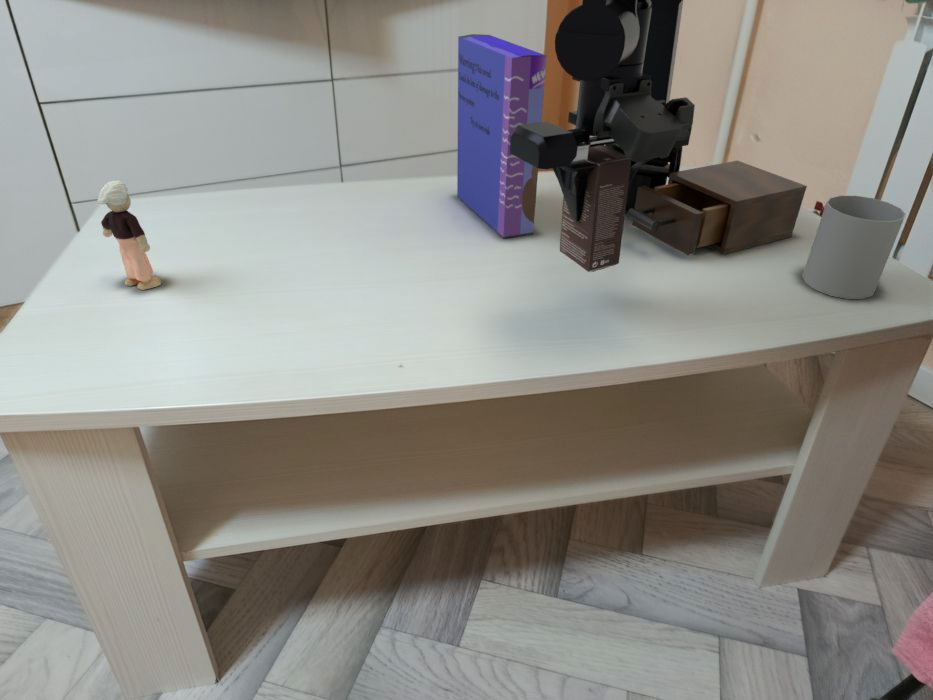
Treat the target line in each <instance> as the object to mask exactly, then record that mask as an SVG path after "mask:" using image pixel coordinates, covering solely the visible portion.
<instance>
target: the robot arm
mask: <svg viewBox="0 0 933 700" xmlns="http://www.w3.org/2000/svg"><path fill="white" fill-rule="evenodd" d="M683 5H684V0H582V2H581V4H580V5H578V6H576V7H575V8H573V9H571V10H570V11H569V12H568V13H567V14H566V15H565V16H564V17H563V19H562V21H561V22H560V24H559V26H558V29H557V31H556V33H555V37H554V50H555V55H556V58H557V59H556V60H557V61H558V63H559V65H560V67H561V68H562V69H563V70H564V71H565V72H566V73H567V74H568V75H569V76H571V78H572V79H571V80H572V81H576V82H579V87H578V98H577V107H576V110H573V111H568V117H567V123H569V124H571V125H574V126H575V128H572V129H566V128H563V127H561V126H558V125H556V124H554V123H552V122H550V121H547V120H546V121H542V122H538V123H531V124H524V125H518V126H517V127H516V129H515V130H514V131H513V133H512V135H511V141H510V154H512V155H514V156H516V157H518V158H520V159H521V160H523V161H525V162H527V163H529V164H531V165H532V166H534V167H536V168H538V170H539V169H540V170H551V169H552V170H553V173H554V175H555V177H556V179H557V181H558V184H559V187H560V190H561V192H562V196H564V199H565V202H566V204H567V207H568V210H569V213H570V216H571V218H572V219H573V220H574V221H576V222H577V221H580V218H581V214H582V210H583V204H584V196H585V188H586V181H587V176H588V174H589V173H590V172H591V171H592V170H593V169H594V168H595V167H596V164H595V163H592V162H590V161H588V153H589V147H594V146H601V145H605V146H607V147H609V148H611V149H613V150H616V151H618V152H620V153H622V154H625V155H626V157H627V158H629V159H630V160H631V167H630V175H629V183H628V192H627V200H626V208H625V214H627V213H628V211H629V209H631V208H634V209H635V203H636V197H637V191H638V187H639V186H644V185H645V186H647V187H649V188H651V189H653V190H655V187H657V186H662V185H667V182H668V179H669V175H670V173H673V172H678V171H681V170H680V169H681V163H682V157H683V147H686V146H689V144H690V139H691V133H692V130H693V129H692V128H693V124H694V117H695V116H694V113H695V108H696V107H695V106H696V105H695V104H694V103H693V102H692V101H691V100H690V99H689V98H688V97H685V96H684V97H679V98H678V97H677V98H672V99H671V94H672V93H671V92H672V84H673V78H674V70H675V63H676V55H677V50H678V49H677V48H678V42H679V35H680V34H679V33H680V27H681V19H682V12H683V7H684V6H683Z"/></svg>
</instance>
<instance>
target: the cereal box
mask: <svg viewBox="0 0 933 700" xmlns="http://www.w3.org/2000/svg"><path fill="white" fill-rule="evenodd" d="M457 37H458V40H457V41H458V42H457V46H458V47H457V69H458V70H457V164H456V165H457V167H456V168H457V170H456V171H457V172H456V175H457V176H456V177H457V178H456V179H457V183H456V185H457V189H456V190H457V191H456V193H457V195H456V197H457V199H459V200H460V201H461V202H462V203H463V204H464V205H465V206H466V207H468V208H469V210H471V211H472V212H473V213H474V214H475V215H476V216H478V218H480V219H481V220H482V221H483V222H484V223H485V224H486V225H487V226H488V227H490V228H491V229H492V230H493V231H494V232H495V233H496V234H497V235H499V236H500V237H501V238H502V239H510V238H517V237H522V236H528V235H533V234H534V229H535V215H536V203H537V189H538V175H539V169H538V168H536V167H534V166H532V165H531V164H529V163H527V162H525V161H523V160H521V159H520V158H518V157H516V156H514V155H512V154H510V141H511V135H512V133H513V131H514V130H515V129H516V127H517V126H518V125H524V124H531V123H538V122H543V121H542V120H543V110H544V109H543V108H544V96H545V85H546V83H545V81H546V71H547V70H546V69H547V68H546V67H547V55H546V54H543V53H540V52H538V51H535V50H532V49H529V48H527V47H524V46H522V45H519V44H516V43H513V42H510V41H507V40H505V39H502V38H500V37H497V36H493V35H491V34H479V33H477V34H475V33H473V34H465V35H459V36H457Z"/></svg>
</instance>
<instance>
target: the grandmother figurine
mask: <svg viewBox="0 0 933 700" xmlns="http://www.w3.org/2000/svg"><path fill="white" fill-rule="evenodd" d="M128 191H129V189H128V187H127V184H126V183H125V182H122V181H121V180H119V179H118V180H111V181H108V182H107V183H105V184H104V185H103V186H102V188H101V190H100V191H99V195H98V198H97V203H98V204H99V205H106V207H107V208H108V209H109V210H110V211H108V212H107V213H106V214H105V215H104V216H103V218H102V220H101V222H100V224H101V226H102V235H103V236H104V237H106V238H111V237H112V236H113V237H114V238H115V240H116V241H117V243H118V249H119V250H118V251H119V253H120V257H121V260H122V264H123V266H124V271H125V274H126V277H127V278H126V279H125V281H124V285H125V286H129V287H132V286H136V287H137V289H138V290H140V291H144V290H151V289H152V288H156V287H159V286H161V285H162V280H161V278H159V277H158V276H154V275H153V273H154V270H153V267H152V265H151V262H150V259H149V257H148V255H147V252H149V251H150V250H151V246H150V244H149V243H148V240H147V239H148V238H147V237H146V233H145V231H144V229H143V227H142V226H141V225H140V222H139V220H138V218H137V216H135V215H134V214H133V213H131V212H130V211H128V210H129V208H130V207H131V204H132V200H131V197H130V195H129V192H128ZM152 275H153V276H152Z"/></svg>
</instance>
